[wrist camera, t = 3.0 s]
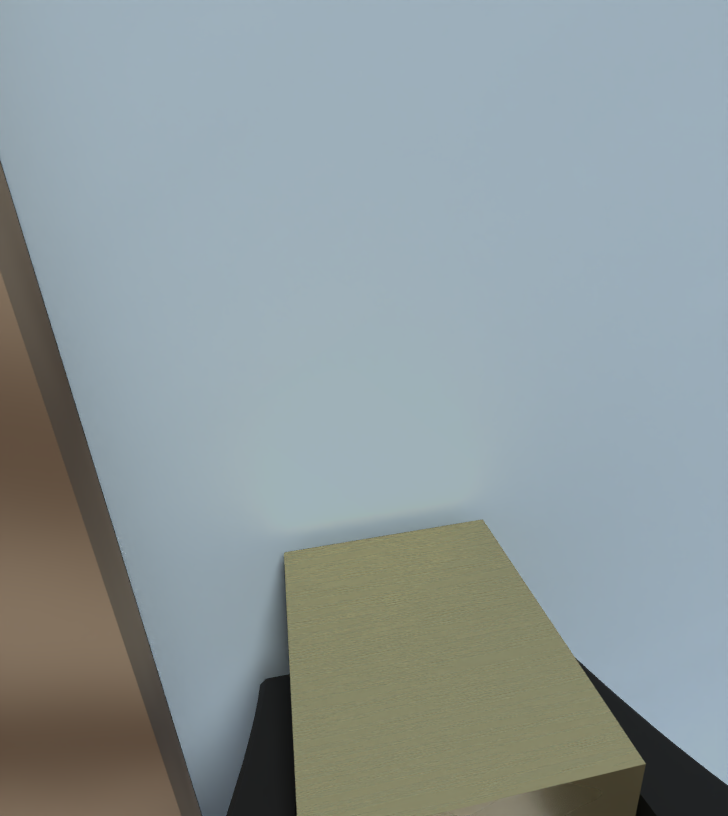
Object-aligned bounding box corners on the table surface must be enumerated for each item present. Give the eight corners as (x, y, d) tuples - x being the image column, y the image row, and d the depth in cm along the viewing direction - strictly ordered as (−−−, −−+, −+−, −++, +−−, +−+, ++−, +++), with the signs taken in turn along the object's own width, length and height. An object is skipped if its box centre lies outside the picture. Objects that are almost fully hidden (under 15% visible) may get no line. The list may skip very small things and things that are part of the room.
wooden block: (479, 695, 13) (601, 981, 8) (312, 730, 12) (340, 1058, 7) (482, 519, 11) (645, 764, 6) (284, 552, 10) (298, 847, 6)
